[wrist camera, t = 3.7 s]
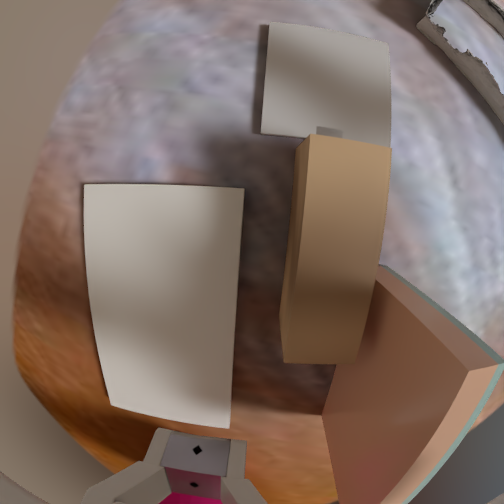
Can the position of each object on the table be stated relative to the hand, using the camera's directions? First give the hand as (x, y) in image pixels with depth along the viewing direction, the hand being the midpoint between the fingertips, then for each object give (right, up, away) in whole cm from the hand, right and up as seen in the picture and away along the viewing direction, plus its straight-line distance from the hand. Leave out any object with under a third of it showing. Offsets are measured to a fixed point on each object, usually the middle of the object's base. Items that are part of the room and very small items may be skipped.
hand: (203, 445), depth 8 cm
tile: (+7, +1, +7) cm, 10 cm away
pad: (-3, +3, +6) cm, 8 cm away
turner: (+5, +10, +4) cm, 12 cm away
